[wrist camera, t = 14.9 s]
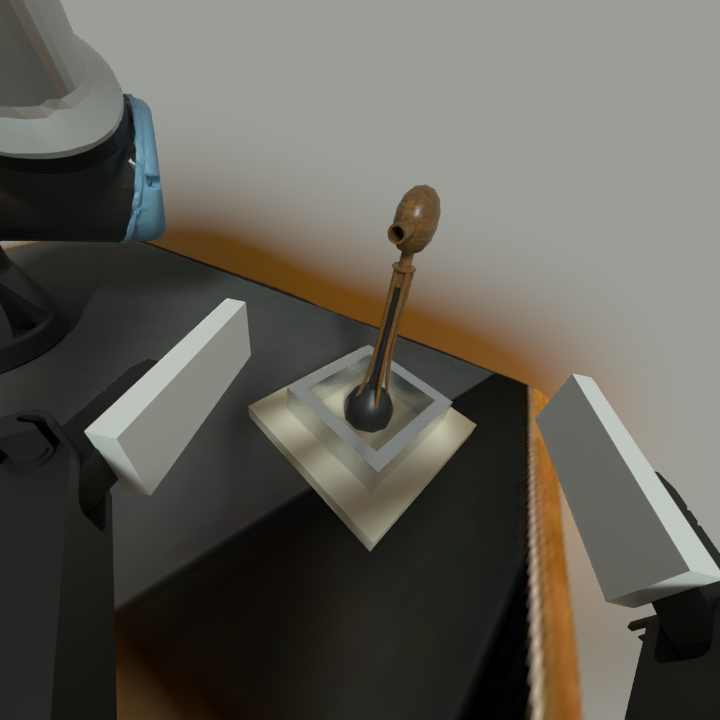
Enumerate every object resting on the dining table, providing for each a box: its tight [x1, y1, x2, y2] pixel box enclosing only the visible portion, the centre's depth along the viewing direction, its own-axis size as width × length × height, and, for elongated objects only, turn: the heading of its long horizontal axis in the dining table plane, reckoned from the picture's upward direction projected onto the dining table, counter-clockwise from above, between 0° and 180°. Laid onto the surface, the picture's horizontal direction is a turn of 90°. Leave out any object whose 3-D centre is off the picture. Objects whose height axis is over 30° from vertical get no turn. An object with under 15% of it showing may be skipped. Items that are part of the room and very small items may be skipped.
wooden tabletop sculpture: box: [344, 185, 440, 433], centre depth 23 cm, size 6×5×20 cm
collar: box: [287, 345, 452, 492], centre depth 29 cm, size 11×11×3 cm
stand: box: [248, 346, 476, 551], centre depth 30 cm, size 16×16×2 cm
